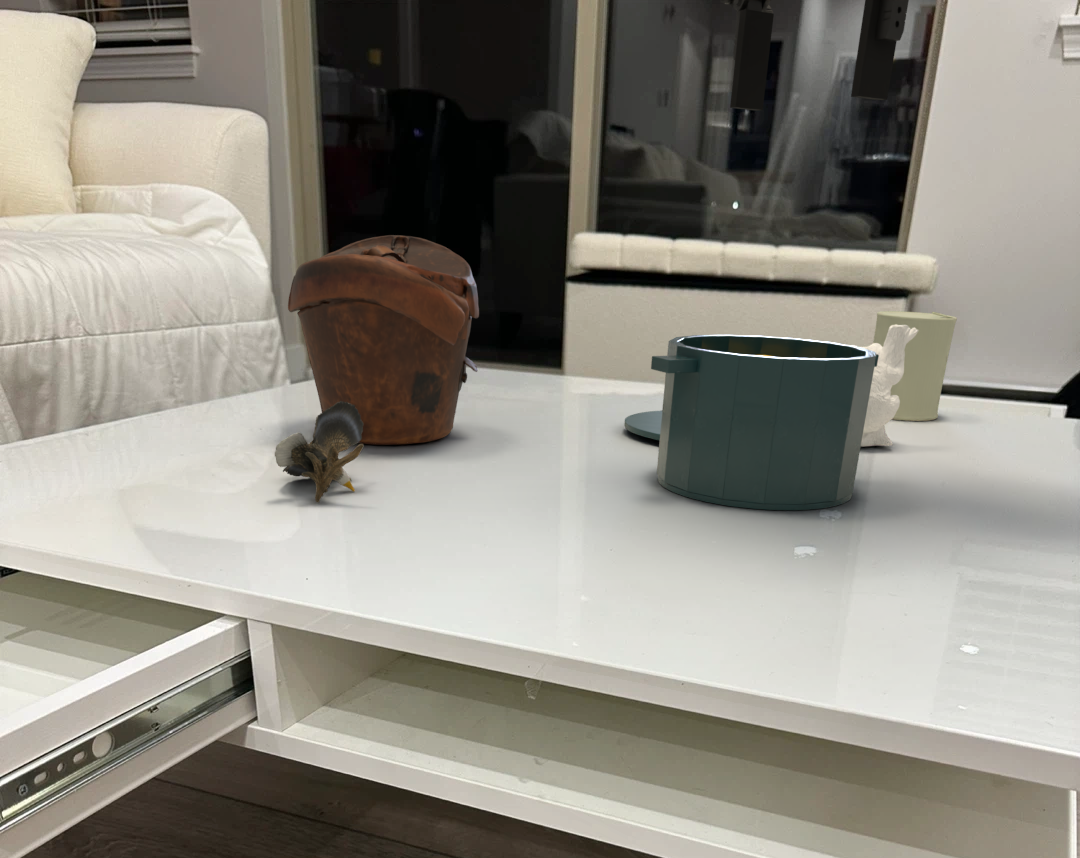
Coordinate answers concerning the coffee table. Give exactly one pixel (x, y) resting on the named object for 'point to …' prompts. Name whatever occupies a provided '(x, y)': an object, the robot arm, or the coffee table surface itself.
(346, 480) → the eagle figurine
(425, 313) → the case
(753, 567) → the coffee table surface
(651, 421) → the lid
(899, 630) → the coffee table surface
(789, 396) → the pot
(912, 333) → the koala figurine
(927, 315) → the green tapered cup
